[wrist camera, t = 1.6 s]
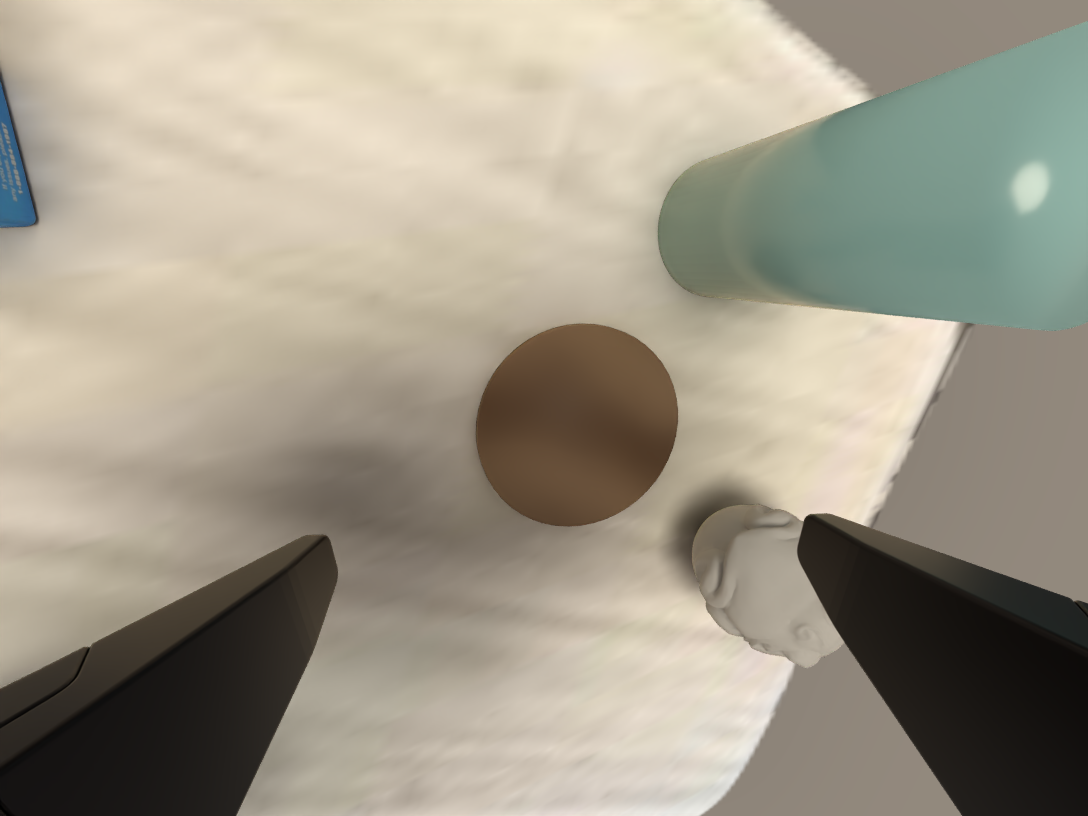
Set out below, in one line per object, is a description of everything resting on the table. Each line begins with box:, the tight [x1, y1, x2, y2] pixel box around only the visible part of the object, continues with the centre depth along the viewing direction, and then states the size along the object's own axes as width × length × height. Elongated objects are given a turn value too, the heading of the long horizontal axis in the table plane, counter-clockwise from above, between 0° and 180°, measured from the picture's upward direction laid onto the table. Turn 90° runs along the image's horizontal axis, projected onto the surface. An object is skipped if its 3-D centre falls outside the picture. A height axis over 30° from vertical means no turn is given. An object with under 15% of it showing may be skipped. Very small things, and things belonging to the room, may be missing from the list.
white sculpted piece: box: [692, 504, 844, 668], centre depth 22 cm, size 6×7×7 cm
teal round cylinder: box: [658, 21, 1088, 331], centre depth 15 cm, size 6×6×12 cm
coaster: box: [476, 324, 678, 526], centre depth 22 cm, size 9×9×1 cm
